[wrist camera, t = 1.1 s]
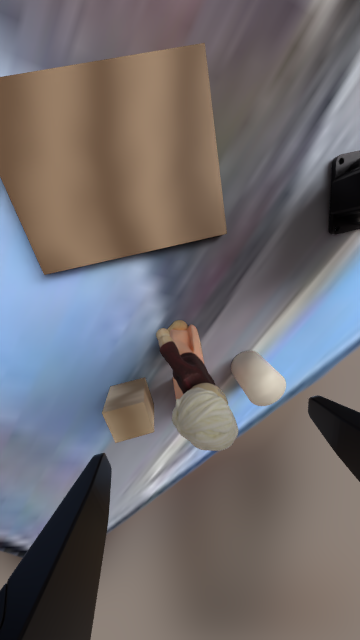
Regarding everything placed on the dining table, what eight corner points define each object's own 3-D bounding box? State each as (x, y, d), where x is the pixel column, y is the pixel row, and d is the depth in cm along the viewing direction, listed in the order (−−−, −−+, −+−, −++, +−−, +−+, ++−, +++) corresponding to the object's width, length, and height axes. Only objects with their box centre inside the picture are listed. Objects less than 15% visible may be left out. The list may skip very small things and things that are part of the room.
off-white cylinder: (261, 346, 23) (285, 367, 19) (263, 374, 24) (286, 400, 20) (228, 355, 23) (246, 378, 19) (232, 382, 24) (249, 410, 20)
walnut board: (200, 59, 14) (204, 43, 13) (222, 234, 18) (226, 233, 17) (-25, 98, 13) (-42, 84, 12) (51, 273, 17) (44, 274, 16)
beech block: (145, 376, 22) (143, 401, 19) (153, 403, 24) (154, 432, 20) (110, 385, 22) (101, 413, 18) (121, 412, 23) (115, 442, 20)
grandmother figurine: (215, 344, 22) (290, 451, 10) (191, 367, 23) (235, 494, 11) (166, 298, 20) (189, 368, 8) (141, 325, 20) (124, 429, 8)
